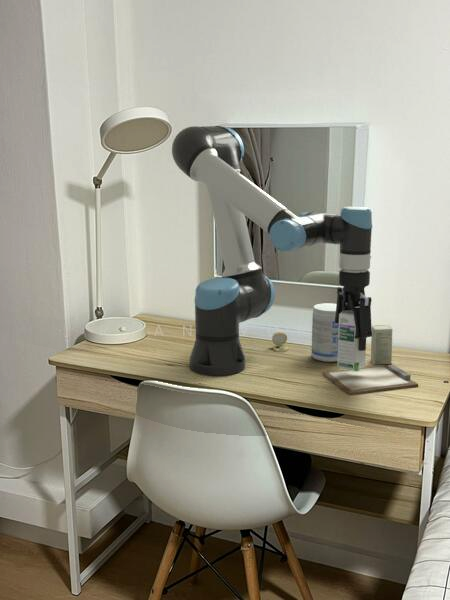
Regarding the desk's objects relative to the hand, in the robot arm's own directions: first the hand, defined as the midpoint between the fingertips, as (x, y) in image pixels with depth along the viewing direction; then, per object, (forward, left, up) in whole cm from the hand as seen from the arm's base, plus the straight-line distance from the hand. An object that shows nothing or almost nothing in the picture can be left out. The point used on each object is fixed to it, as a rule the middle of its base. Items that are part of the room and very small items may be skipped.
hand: (351, 356), depth 179 cm
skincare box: (-9, +14, -6) cm, 18 cm away
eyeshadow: (-28, -8, -6) cm, 30 cm away
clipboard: (+3, +4, -6) cm, 8 cm away
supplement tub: (-17, +2, -6) cm, 18 cm away
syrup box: (0, 0, -3) cm, 3 cm away
